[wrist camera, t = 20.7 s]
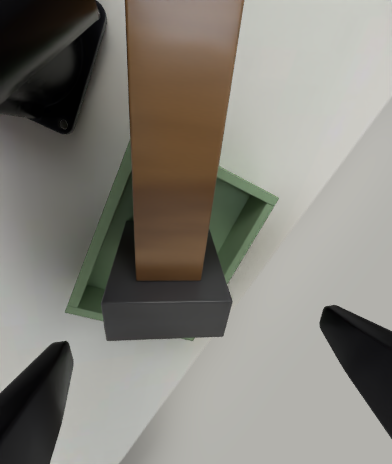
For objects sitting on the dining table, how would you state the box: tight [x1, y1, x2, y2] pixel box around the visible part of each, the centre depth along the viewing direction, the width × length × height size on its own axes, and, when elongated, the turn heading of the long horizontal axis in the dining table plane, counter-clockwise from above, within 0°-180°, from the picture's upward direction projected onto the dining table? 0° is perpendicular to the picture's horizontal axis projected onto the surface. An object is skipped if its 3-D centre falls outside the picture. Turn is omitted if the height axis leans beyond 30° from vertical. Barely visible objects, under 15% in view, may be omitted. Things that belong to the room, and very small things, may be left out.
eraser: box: [101, 0, 244, 341], centre depth 11 cm, size 7×6×12 cm
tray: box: [65, 141, 279, 341], centre depth 16 cm, size 12×9×3 cm
